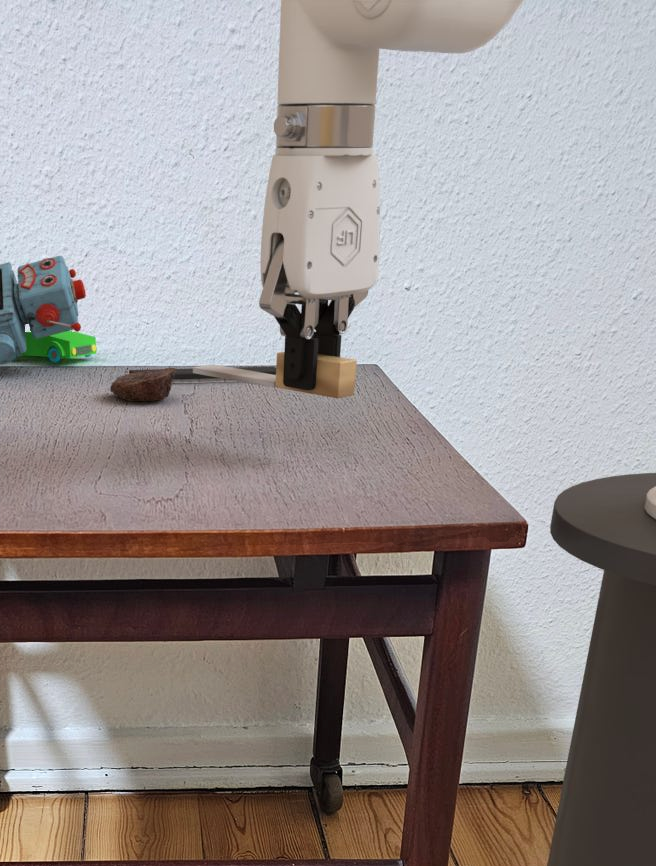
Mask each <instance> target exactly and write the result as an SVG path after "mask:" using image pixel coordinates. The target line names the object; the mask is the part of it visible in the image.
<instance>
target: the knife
mask: <svg viewBox="0 0 656 866" xmlns="http://www.w3.org/2000/svg"><path fill="white" fill-rule="evenodd" d="M357 361H358V360H357V359H354V358H348V357H341V356H340V357H335V356H328V355H322V354H318V359H317V371H316V386H315V388H314V389H313V390H303V389H297V388H291V387H286V386H285V385H284V384H283V372H284V351H280V352H277V353H276V363H275V367H276V375H273V374H267V373H261V372H255V371H249V370H243V369H237V368H232V367H231V366H225V365H220V364H214V363H212V364H211V363H210V364H206V365H205V364H204V365H200V366H193V367H192V368H193V373H195V374H201V375H206V376H212V377H218V378H223V379H229V380H234V381H239V382H240V383H246V384H252V385H256V386H262V387H268V388H273V389H274V388H277V389H281V390H282V389H283V390H288V391H293V392H299V393H304V394H305V393H306V394H311V395H316V396H321V397H327V398H332V399H333V398H334V399H341V398H346V397H352V396H354V395H355V389H356V377H357V376H356V375H357Z"/></svg>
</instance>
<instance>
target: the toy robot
mask: <svg viewBox="0 0 656 866" xmlns="http://www.w3.org/2000/svg"><path fill="white" fill-rule="evenodd" d="M65 261H66V260H65V258H64V257H63V256H62V255H57V256H53V257H48V258H44V259H42V260H38V261H34V262H33V261H32V262H30V263H26V264H22V265H19V266H18V267H17V278H16V274H15V272H14V271H13V268H12V266H13V265H12V264H11V262H10V261H8V262H4V263H0V366H1V365H7V364H9V363H11V362H12V361H13V360H15V359H14V357H15V355H18V354H22V353H25V352H26V332H25V327H26V324H29V327H30V331H31V332H32V335H33V337H34V338H36V339H38V338H42V337H46V336H50V335H54V334H58V333H62V332H66V331H70V330H71V331H74V332H78V333H79V332H80V331H81V330H82V326H81V324H80V323H79V307H78V301H79V300H83V299H86V297H87V295H86V294H87V293H86V288H85V285H84V282H83V280H82V279H77V280H73V279H74V278H75V277H76V276H77V272H76V270H75V269H74V268H71V269H69V266H67V264H66V262H65ZM18 356H19V355H18Z"/></svg>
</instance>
